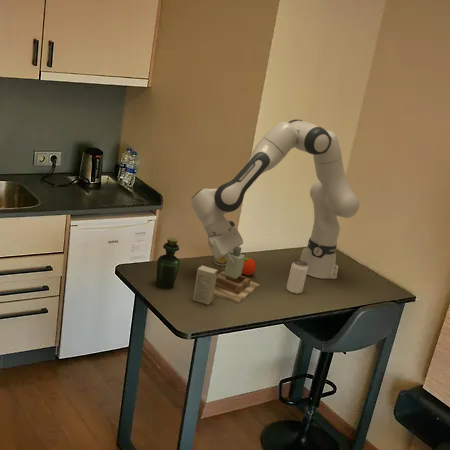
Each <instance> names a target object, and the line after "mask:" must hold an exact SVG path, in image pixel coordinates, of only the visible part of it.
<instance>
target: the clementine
mask: <svg viewBox="0 0 450 450" xmlns="http://www.w3.org/2000/svg"><path fill="white" fill-rule="evenodd" d="M256 269H257V264H256V261H255V260H254V259H252V258H251V257H245V260H244V264H243V269H242V273H241V274H243V275H244V276H245V275H246V276H251V275H252V274H254V273H255V271H256Z"/></svg>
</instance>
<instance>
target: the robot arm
mask: <svg viewBox="0 0 450 450" xmlns="http://www.w3.org/2000/svg"><path fill="white" fill-rule="evenodd" d="M294 148H295V149H296V150H299V151H301V152H304V153H308V154H310V155H313V162H314V169H315V173H316V174H315V175H316V178H317V180H316V181H314V183H313V184H312V185H311V187H310V191H309V196H310V199H311V200H312V204H313V211H314V212H313V215H314V218H313V225H312V231H311V235H310V237H309V239H308V242H307V247H304V248H303V250H302V252H301V255H300V258H299V260H302V261H305V262H307V263H308V265H307V266H308V271H307V275H308V276H311V277H312V278H317V279H331V280H336V279H337V278H338V271H339V265H337V264H336V262H337V261H336V258H337V254H336V252H337V247H338V246H337V244H338V238H339V234H340V230H341V225H340V223H339V221H338V217H341V218H344V219H350V218H353V217H354V216H356V214H357V213H358V212H359V209H360V206H361V205H360V200H359V198H358V197H357V195H355V193H354V191H353V189H352V187H351V185H350V182H349V181H348V180H349V179H348V178H347V176H346V173H345V169H344V163H343V162H344V161H343V157H342V156H343V155H342V150H341V146H340V142H339V139H338V136H337V135H336V133H335V132H334V131H332V130H329V129H325V128H324V127H322V126H318V125H317V124H315V123H313V122H309V121H304V120H302V119H297V118H296V119H292V120H289V121H285V120H283V121H279V122H278V123H276V125H274V126H273V127H272V128H271V129H270V130H268V131H267V132H266V133H265V134H264V136H263V137H262V138H261V139H260V141H258V143H257V144H256V146H255V147H254V149H253V150H252V153H251V154H250V155H251V156H250V158H249V160H248V161H247V163H246V164H245V166H244V167H242V169H240V171H239V172H238V173H237V174H236V175H235V176H234V177H233V179H231V180H230V181H227V182H225V183H223V184H222V185H220V186H219V187H218V188H206V187H203V188H202V189H200V190H198V191H197V192H196V193H195V194H194V195H193V196H192V197H191V200H190V203H191V207H192V209H193V212H194V213H195V215H196V217H197V219H198V220H199V221H200V222H201V224H202V226H203V229H204V231H205V233H206V235H207V244H208V247H209V250H210V252H211V253H212V255H213V257H214V259H215V258H216V259H219V258H221V257H224V258H225V259H226V260H227V261H228V262H229V264H230V265H231V266H232V265H233V264H235V263H236V262H235V260H234V259H232V258H231V257H230V253H232V252H233V251H234V250H235V247H240V246H242V245H243V244H244V240H243V237H242V236H241V233H240V232H239V230H238V228H237V227H236V223H235V222H234V221H233V220H228V219H226V217H225V214H227V213H232V212H234V211H237V209H239V208H240V206H241V205H242V203H243V200H244V196H245V194H246V193H247V191H248V190H249V188H250V187H251V186H252V184H253V183H255V182H256V180H257V179H258V178H259V177H260V176H261V175H262V174H264V173H265V172H267V171H271V170H272V169H274V168H275V167H276V166H277V165H279V164H280V162H282V161H283V160H284V158H286V156H287V155H288V153H289V152H290V151H291V150H292V149H294ZM307 275H306V276H307Z"/></svg>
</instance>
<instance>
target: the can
mask: <svg viewBox="0 0 450 450" xmlns="http://www.w3.org/2000/svg"><path fill="white" fill-rule="evenodd" d="M307 265H308V263H307V262H305V261H302V260H300V259H294V260H293V262H292V263H291V267H290V270H289V275H288V277H287V278H288V279H287V283H286V287H285V288H286V290H287V291H288V292H289V293H291V294H294V293H295V295H300V294H302V293H303V290H304V287H305V282H306V278H307V271H308V266H307ZM299 293H300V294H299Z"/></svg>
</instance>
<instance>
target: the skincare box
mask: <svg viewBox="0 0 450 450" xmlns="http://www.w3.org/2000/svg"><path fill="white" fill-rule="evenodd" d="M217 275H218V269H216V268H212V267H209V266H206V265H200V266H199V267H198V268H197V271H196V277H195V284H194V291H193V294H192V296H193V297H192V301H195V302H197V303H201V304H204V305H207V306H208V305H210V304H211V303H212V302H213V299H214V295H215V294H214V288H215V283H216V277H217Z"/></svg>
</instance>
